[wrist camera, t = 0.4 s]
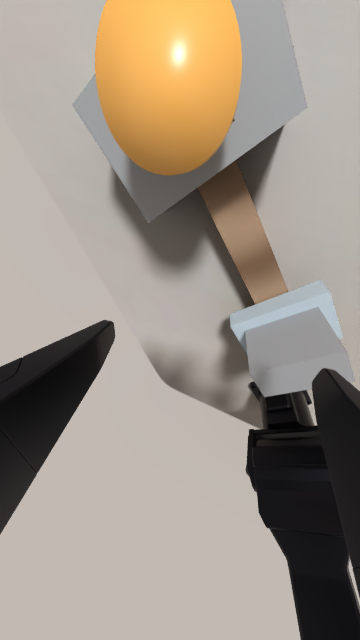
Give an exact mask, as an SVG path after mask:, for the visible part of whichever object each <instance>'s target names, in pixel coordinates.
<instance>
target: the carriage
mask: <svg viewBox="0 0 360 640" xmlns="http://www.w3.org/2000/svg"><path fill="white" fill-rule="evenodd" d="M230 327H231V329H232V330H233V332H234V334H235V335H236V337H237V339H238V340H239V342H240V344H241V345H242V347H243V349H244V350H245V352H246V354H247V355H248V364H249V374H250V375H251V377H252V379H253V380H254V382H255V383H256V385H257V386H258V388H259V390H260V391H261V393H262V394H263V396H264V397H268V396H274V395H280V394H286V393H291V392H297V391H303V390H309V389H312V381H313V379H314V378H315V377H316V375H317V374H318V373H319V371H320V370H321V369H323V368H328V369H333V370H335V371H337V372H338V373H339V374H340V375H341V376H342V377H344V378H345V379H346V380H347V381H348V382H355V378H354V375H353V371H352V368H351V364H350V361H349V358H348V354H347V351H346V349H345V348H344V346H343V345H342V343H341V341H340V340H339V339H340V338H343V335H342V332H341V328H340V325H339V321H338V318H337V314H336V311H335V307H334V304H333V300H332V297H331V293H330V291H329V290H328V288H327V287H326V286H325V285H324V283H323V282H322V281H321V280H319V281H316V282H313V283H311V284H308V285H306V286H303V287H300V288H298V289H295V290H292V291H290V292H287V293H284V294H282V295H279V296H277V297H274V298H271V299H269V300H266V301H263V302H261V303H258V304H255V305H253V306H250V307H248V308H245V309H242V310H240V311H237V312H234V313H232V314H230Z"/></svg>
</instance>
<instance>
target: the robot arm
mask: <svg viewBox="0 0 360 640" xmlns="http://www.w3.org/2000/svg"><path fill="white" fill-rule="evenodd" d="M114 339H115V329H114V323H113V322H112V321H107V320H103V321H101V322H98V323H96V324H94V325H92V326H89V327H87V328H85V329H83V330H81V331H78V332H76V333H74V334H72V335H70V336H68V337H65V338H63V339H61V340H59V341H56V342H54V343H52V344H50V345H48V346H45V347H43V348H41V349H39V350H37V351H34V352H33V353H30V354H28V355H26V356H24V357H23V358H19V359H17V360H15V361H12V362H10V363H8V364H6V365H3V366H1V367H0V534H1V532H2V531H3V529H4V527H5V526H6V524H7V522H8V521H9V519H10V518H11V516H12V514H13V513H14V511H15V509H16V508H17V506H18V504H19V503H20V501H21V499H22V498H23V496H24V495H25V493H26V491H27V490H28V488H29V486H30V485H31V483H32V481H33V480H34V478H35V477H36V475H37V473H38V471H39V470H40V468H41V466H42V465H43V463H44V462H45V460H46V458H47V457H48V455H49V453H50V452H51V450H52V448H53V447H54V445H55V443H56V442H57V440H58V438H59V437H60V435H61V434H62V432H63V430H64V429H65V427H66V425H67V424H68V422H69V421H70V419H71V417H72V416H73V414H74V412H75V411H76V409H77V407H78V406H79V404H80V403H81V401H82V399H83V397H84V396H85V394H86V393H87V391H88V389H89V388H90V386H91V384H92V383H93V381H94V380H95V378H96V376H97V375H98V373H99V371H100V369H101V367H102V366H103V364H104V361H105V359H106V357H107V355H108V353H109V350H110V348H111V346H112V344H113V342H114ZM250 388H251V389H252V391H253V392H254V394H255V396H256V397H257V399H258V400H259V402H260V405H261V412H262V419H263V427H264V429H259V430H254V429H250V430H249V436H248V451H247V465H246V473H247V474H248V476H249V477H250V479H251V483H252V486H253V489H254V491H255V492H257V496H258V508H259V514H260V515H261V518H262V520H263V522H264V524H265V526H266V527H267V528H269V529H270V530H271V532H272V534H273V536H274V537H275V539H276V541H277V543H278V544H279V546H280V548H281V550H282V552H283V553H284V555H285V557H286V559H287V562H288V567H289V573H290V578H291V584H292V590H293V596H294V601H295V608H296V613H297V619H298V625H299V631H300V636H301V640H360V606H359V602H358V599H357V596H356V593H355V589H354V586H353V583H352V579H351V576H350V573H349V569H348V566H349V559H350V560H351V563H352V567H353V572H354V576H355V580H356V585H357V589H358V592H359V597H360V391H359V390H357V389H356V388H355V387H354V386H353V385H352V384H350V383H349V382H348V381H347V380H346V379H345V378H344V377H342V376H341V375H340V374H339V373H338V372H337V371H335V370H333V369H328V368H323V369H321V370H320V371H319V373H318V374H317V375H316V377H315V378H314V379H313V381H312V392H313V400H314V407H315V415H316V421H317V425H318V426H314V423H313V420H312V417H311V414H310V411H309V408H308V405H309V404H311V403H312V402H311V399H310V397H309V395H308V392H307V390H303V391H297V392H291V393H286V394H280V395H274V396H268V397H264V396H263V394H262V393H261V391H260V390H259V388H258V386H257V385H256V383H255V382H253V383H250Z"/></svg>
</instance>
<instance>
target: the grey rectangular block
mask: <svg viewBox="0 0 360 640" xmlns="http://www.w3.org/2000/svg"><path fill="white" fill-rule="evenodd" d="M231 3H232V5H233V8H234V11H235V14H236V18H237V22H238V26H239V32H240V39H241V48H242V75H241V83H240V91H239V98H238V103H237V107H236V112H235V115H234V118H233V120H234V122H232V124H231V127H230V129H229V132H228V134H227V136H226V137H225V139H224V141H223V143H222V144H221V146H220V147H219V149H218V150H217V151H216V153H215V154H214V155H213V156H212V157H211V158H210V159H209V160H208V161H207V162H206V163H204V164H203V165H201V166H200V167H198V168H197V169H195V170H192V171H190V172H187V173H183V174H178V175H159V174H155V173H152V172H149V171H147V170H145V169H143V168H141V167H140V166H138V165H137V164H136V163H134V162H133V161H132V160H131V159H130V158H129V157H128V156H127V155H126V154H125V153H124V152H123V150H122V149H121V148H120V147H119V145H118V144H117V142H116V141H115V139H114V137H113V135H112V133H111V132H110V130H109V127H108V125H107V123H106V120H105V118H104V115H103V111H102V108H101V105H100V100H99V96H98V90H97V84H96V73H95V75H94V76H93V77H92V79H91V80H90V82H89V83H88V84H87V86H86V87H85V88H84V90H83V91H82V92H81V94H80V95H79V96H78V98H77V99H76V101H75V102H74V103H73V107H74V108H75V110H76V111H77V113H78V114H79V116H80V118H81V119H82V121H83V122H84V124H85V125H86V127H87V128H88V130H89V132H90V133H91V135H92V136H93V138H94V139H95V141H96V142H97V144H98V146H99V147H100V149H101V150H102V152H103V153H104V155H105V156H106V158H107V160H108V161H109V163H110V164H111V166H112V167H113V169H114V170H115V172H116V174H117V175H118V177H119V178H120V180H121V181H122V183H123V184H124V186H125V188H126V189H127V191H128V192H129V194H130V195H131V197H132V198H133V200H134V202H135V203H136V205H137V206H138V208H139V209H140V211H141V212H142V214H143V216H144V217H145V219H146V220H147V222H148V223H150V222H151V221H152V220H154V219H155V218H156V217H158V216H159V215H161V214H162V213H163V212H165V211H166V210H167V209H169V208H170V207H172V206H173V205H174V204H176V203H177V202H178V201H180V200H181V199H183V198H184V197H185V196H187V195H188V194H190V193H191V192H192V191H194V190H195V189H196V188H198V187H199V186H201V185H202V184H203V183H205V182H206V181H207V180H209V179H210V178H212V177H213V176H214V175H216V174H217V173H218V172H220V171H221V170H223V169H224V168H225V167H227V166H228V165H229V164H231V163H232V162H234V161H235V160H236V159H238V158H239V157H240V156H242V155H243V154H245V153H246V152H247V151H249V150H250V149H251V148H253V147H254V146H256V145H257V144H258V143H260V142H261V141H262V140H264V139H265V138H267V137H268V136H269V135H271V134H272V133H273V132H275V131H276V130H278V129H279V128H280V127H282V126H283V125H284V124H286V123H287V122H289V121H290V120H291V119H293V118H294V117H295V116H297V115H298V114H300V113H301V112H302V111H304V110H305V109H306V108H307V104H306V99H305V95H304V91H303V87H302V82H301V78H300V74H299V69H298V65H297V61H296V57H295V52H294V48H293V44H292V39H291V35H290V31H289V27H288V22H287V18H286V14H285V10H284V5H283V1H282V0H231Z"/></svg>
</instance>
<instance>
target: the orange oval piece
mask: <svg viewBox="0 0 360 640" xmlns="http://www.w3.org/2000/svg"><path fill="white" fill-rule="evenodd" d="M95 73H96V84H97V90H98V96H99V100H100V105H101V108H102V111H103V115H104V118H105V120H106V123H107V125H108V127H109V130H110V132H111V133H112V135H113V137H114V139H115V141H116V142H117V144H118V145H119V147H120V148H121V149H122V150H123V152H124V153H125V154H126V155H127V156H128V157H129V158H130V159H131V160H132V161H133V162H134V163H136V164H137V165H138V166H140V167H141V168H143V169H145V170H147V171H149V172H152V173H155V174H159V175H178V174H183V173H187V172H190V171H192V170H195V169H197V168H198V167H200V166H201V165H203V164H204V163H206V162H207V161H208V160H209V159H210V158H211V157H212V156H213V155H214V154H215V153H216V151H217V150H218V149H219V147H220V146H221V144H222V143H223V141H224V139H225V137H226V136H227V134H228V132H229V129H230V127H231V124H232V122H233V118H234V115H235V112H236V107H237V103H238V98H239V91H240V83H241V75H242V48H241V39H240V32H239V26H238V22H237V18H236V14H235V11H234V8H233V5H232V3H231V0H107V1H106V4H105V6H104V9H103V12H102V16H101V19H100V23H99V28H98V33H97V40H96V50H95Z"/></svg>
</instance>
